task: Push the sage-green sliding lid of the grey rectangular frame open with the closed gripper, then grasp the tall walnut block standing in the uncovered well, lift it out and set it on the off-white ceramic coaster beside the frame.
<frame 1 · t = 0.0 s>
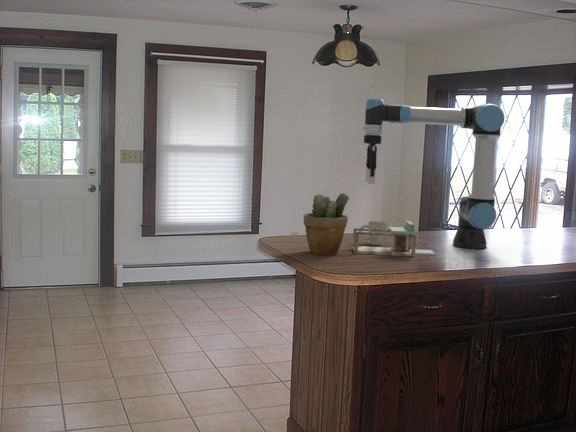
hand: (369, 183, 305), 28 cm above the countertop, fingers open, 13 cm apart
block: (399, 253, 293), resting in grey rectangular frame
coaster: (422, 252, 297), on the countertop
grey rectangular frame: (386, 252, 293), on the countertop
mug: (371, 244, 315), on the countertop
cover: (401, 226, 292), point 11 cm above the countertop, slide at 0.0 cm
potted plant: (323, 253, 286), on the countertop
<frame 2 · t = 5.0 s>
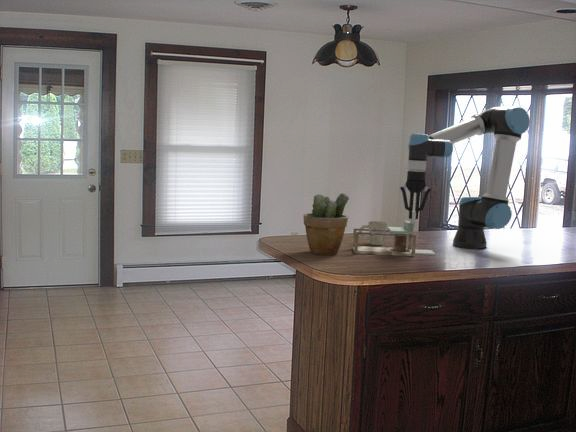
hand: (412, 226, 291), 12 cm above the countertop, fingers closed
cover: (400, 226, 292), point 11 cm above the countertop, slide at 0.5 cm, touching gripper
everything else where it was.
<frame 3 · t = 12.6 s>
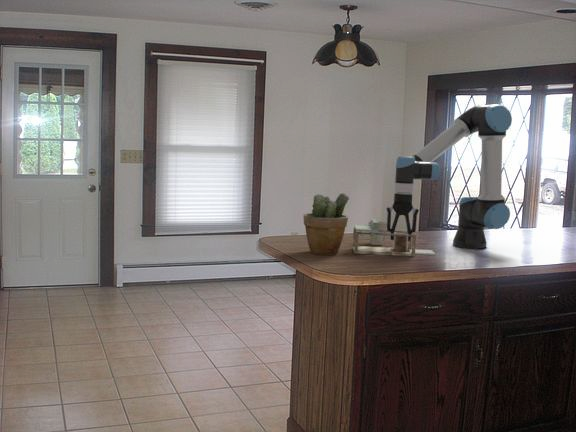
hand: (399, 248, 293), 2 cm above the countertop, fingers closed on block, 4 cm apart
block: (399, 253, 293), resting in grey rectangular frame, touching gripper
cover: (366, 225, 292), point 11 cm above the countertop, slide at 14.8 cm
everything else where it was.
when the fingers open (4 cm above the countertop, at t = 17.4 s): block drops 1 cm, resting on coaster.
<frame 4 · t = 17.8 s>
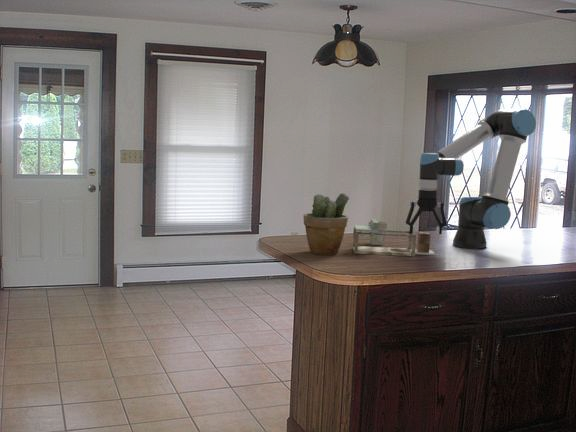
hand: (424, 241, 296), 5 cm above the countertop, fingers open, 10 cm apart
block: (422, 251, 297), point 1 cm above the countertop, touching coaster
everything else where it was.
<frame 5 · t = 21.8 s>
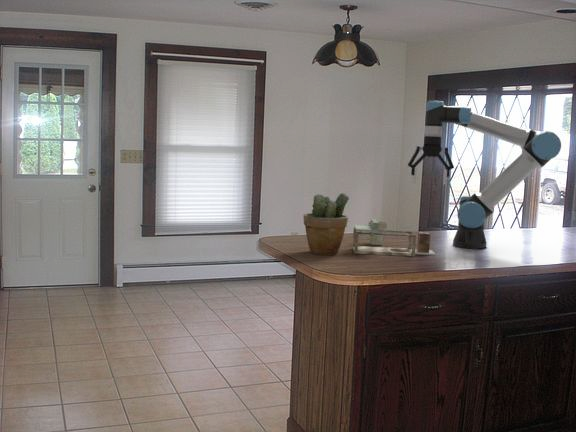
hand: (429, 183, 310), 29 cm above the countertop, fingers open, 13 cm apart
nothing on the countertop moved.
at the end: cover slide at 14.8 cm; block inside the target area on the coaster (0.1 cm from its centre), point 0.6 cm above the coaster's base; block tilted 0° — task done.
